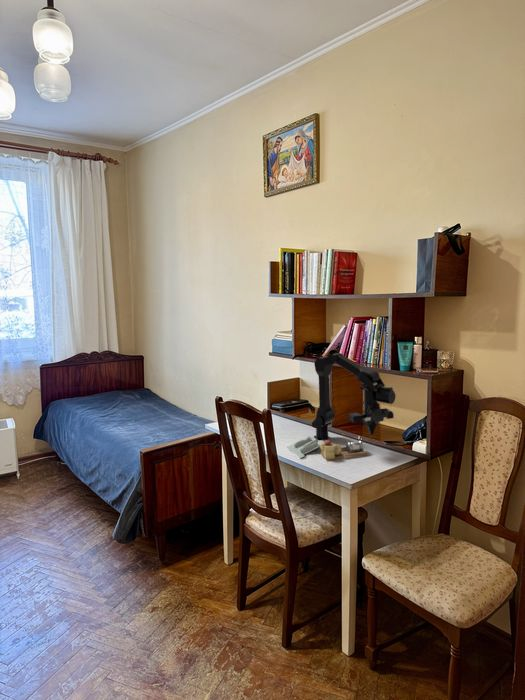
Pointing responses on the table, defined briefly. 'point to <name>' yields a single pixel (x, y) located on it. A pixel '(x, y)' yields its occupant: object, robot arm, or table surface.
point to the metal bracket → (304, 446)
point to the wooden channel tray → (337, 452)
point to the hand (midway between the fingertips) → (371, 434)
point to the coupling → (354, 447)
